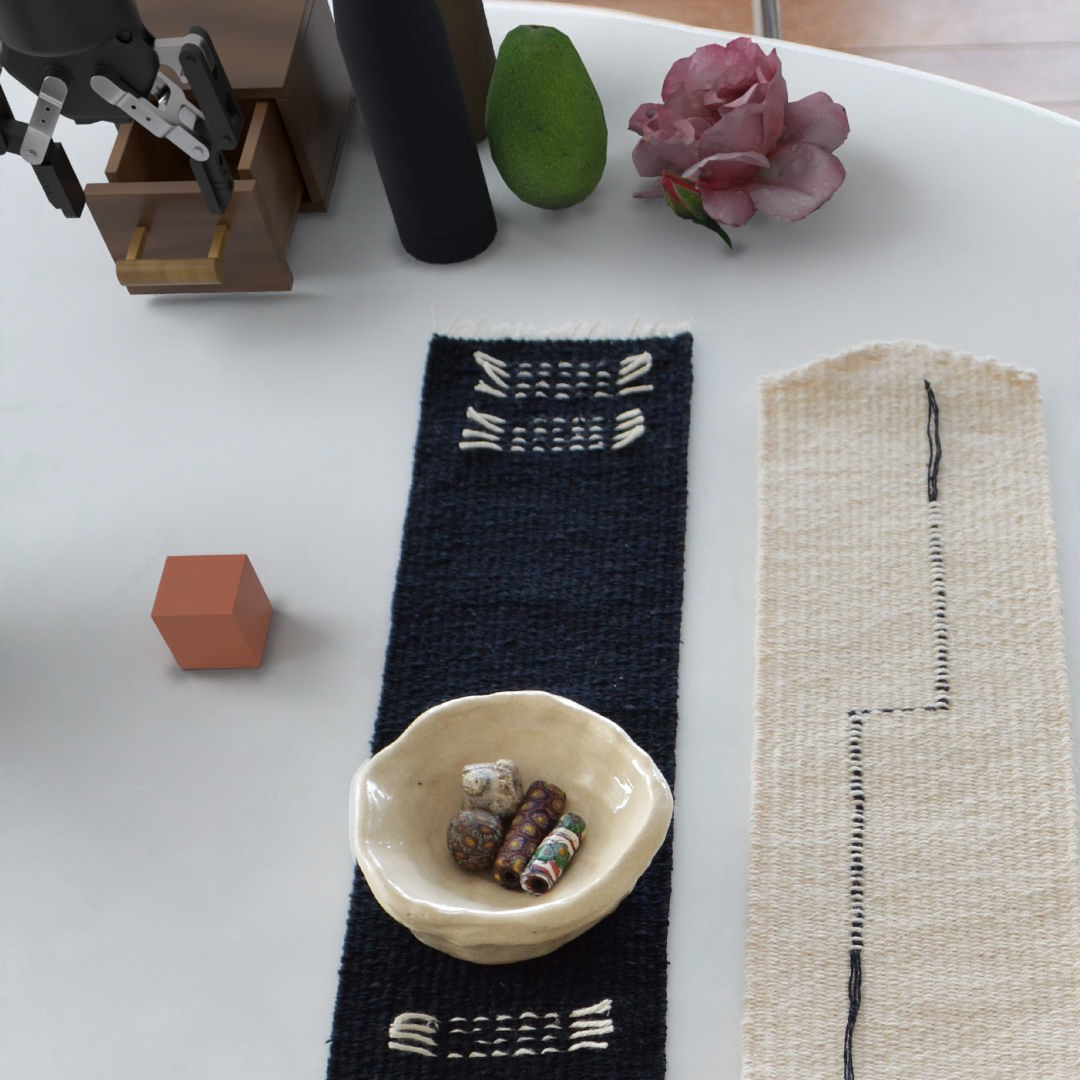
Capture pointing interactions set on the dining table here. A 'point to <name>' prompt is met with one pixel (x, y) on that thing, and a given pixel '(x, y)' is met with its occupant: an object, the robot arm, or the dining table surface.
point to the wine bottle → (417, 125)
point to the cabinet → (275, 71)
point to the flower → (738, 140)
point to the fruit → (545, 119)
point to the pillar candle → (471, 55)
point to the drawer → (200, 211)
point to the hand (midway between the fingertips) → (148, 208)
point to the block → (212, 611)
